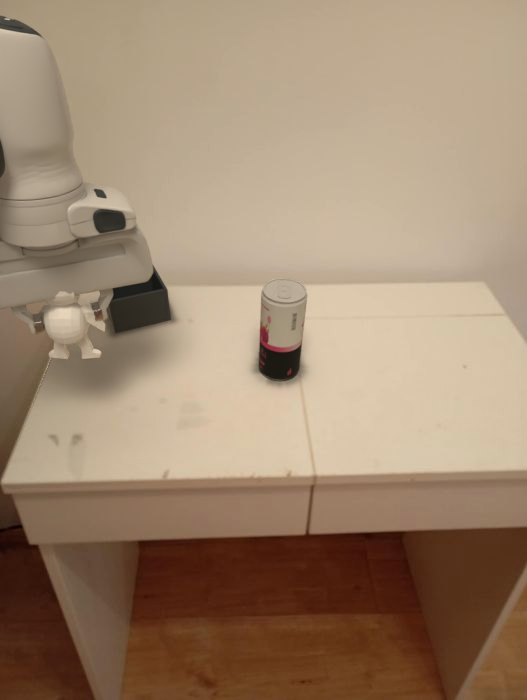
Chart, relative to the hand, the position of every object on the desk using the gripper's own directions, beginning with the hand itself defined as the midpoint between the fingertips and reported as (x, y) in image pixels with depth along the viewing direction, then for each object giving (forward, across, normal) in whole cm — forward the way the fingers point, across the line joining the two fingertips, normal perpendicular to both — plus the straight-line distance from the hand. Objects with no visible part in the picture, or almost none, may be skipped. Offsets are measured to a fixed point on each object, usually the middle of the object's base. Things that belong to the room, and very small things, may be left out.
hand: (70, 324), depth 55 cm
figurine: (+5, 0, 0) cm, 5 cm away
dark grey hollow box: (+17, +12, +24) cm, 31 cm away
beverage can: (+17, +29, 0) cm, 33 cm away
